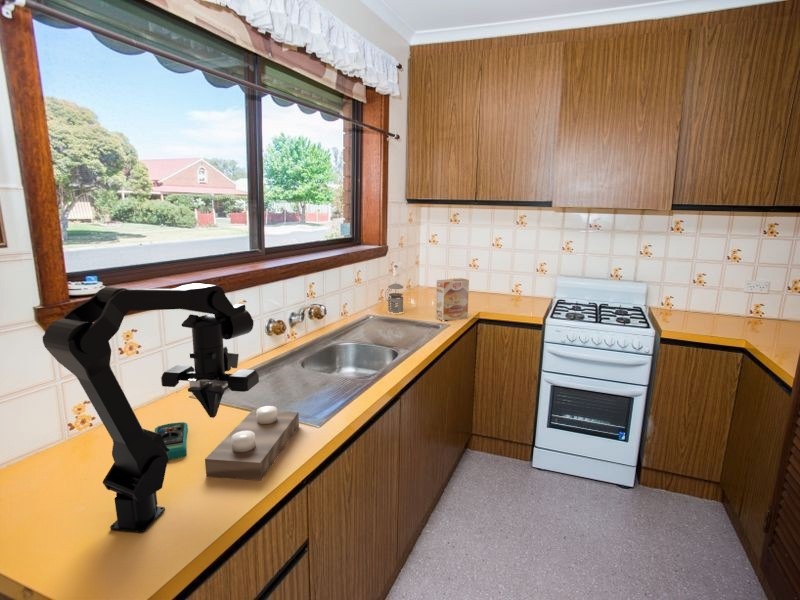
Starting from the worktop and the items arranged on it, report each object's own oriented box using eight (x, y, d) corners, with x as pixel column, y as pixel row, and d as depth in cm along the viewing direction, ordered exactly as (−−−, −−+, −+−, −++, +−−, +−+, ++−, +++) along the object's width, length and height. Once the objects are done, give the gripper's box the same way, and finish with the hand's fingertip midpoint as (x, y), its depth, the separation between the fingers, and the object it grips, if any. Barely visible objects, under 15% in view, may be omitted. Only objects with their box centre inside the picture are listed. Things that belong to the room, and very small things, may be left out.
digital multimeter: (188, 430, 119) (187, 419, 119) (187, 458, 106) (185, 446, 105) (155, 435, 117) (154, 424, 116) (150, 465, 103) (149, 453, 103)
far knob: (273, 440, 113) (272, 414, 112) (254, 439, 114) (253, 413, 112) (281, 430, 118) (279, 406, 116) (262, 429, 118) (261, 405, 117)
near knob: (251, 470, 100) (249, 442, 99) (229, 468, 101) (227, 440, 100) (260, 458, 105) (258, 431, 104) (239, 457, 106) (237, 430, 104)
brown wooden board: (261, 480, 97) (260, 462, 96) (206, 476, 98) (204, 458, 98) (299, 426, 120) (298, 412, 120) (254, 423, 122) (253, 409, 121)
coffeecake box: (443, 321, 227) (444, 282, 223) (435, 318, 233) (435, 279, 229) (468, 318, 234) (469, 279, 230) (459, 315, 240) (460, 277, 236)
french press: (396, 315, 239) (396, 266, 234) (380, 312, 247) (379, 264, 242) (408, 312, 246) (409, 265, 241) (392, 309, 254) (392, 263, 249)
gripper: (268, 337, 102) (271, 404, 105) (188, 333, 105) (193, 399, 108) (244, 351, 91) (248, 426, 94) (156, 347, 94) (162, 419, 97)
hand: (213, 416), depth 99 cm, fingers closed
